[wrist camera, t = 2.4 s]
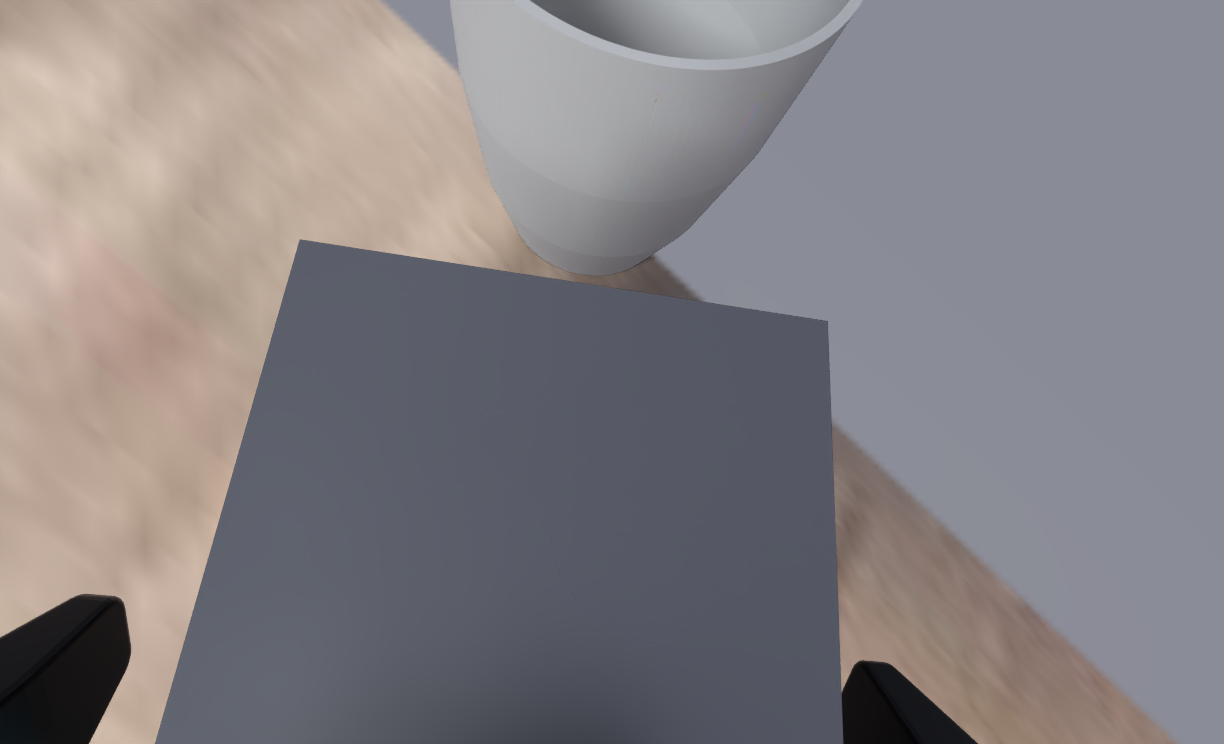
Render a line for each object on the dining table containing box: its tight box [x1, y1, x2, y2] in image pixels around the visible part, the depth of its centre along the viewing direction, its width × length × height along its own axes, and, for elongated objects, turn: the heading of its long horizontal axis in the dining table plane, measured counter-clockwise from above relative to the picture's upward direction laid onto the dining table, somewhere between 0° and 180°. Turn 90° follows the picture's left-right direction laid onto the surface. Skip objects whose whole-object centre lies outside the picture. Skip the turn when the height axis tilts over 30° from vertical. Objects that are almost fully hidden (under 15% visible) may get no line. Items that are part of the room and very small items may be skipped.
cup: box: [450, 0, 863, 276], centre depth 17 cm, size 8×8×10 cm
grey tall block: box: [155, 240, 843, 744], centre depth 11 cm, size 4×4×13 cm
